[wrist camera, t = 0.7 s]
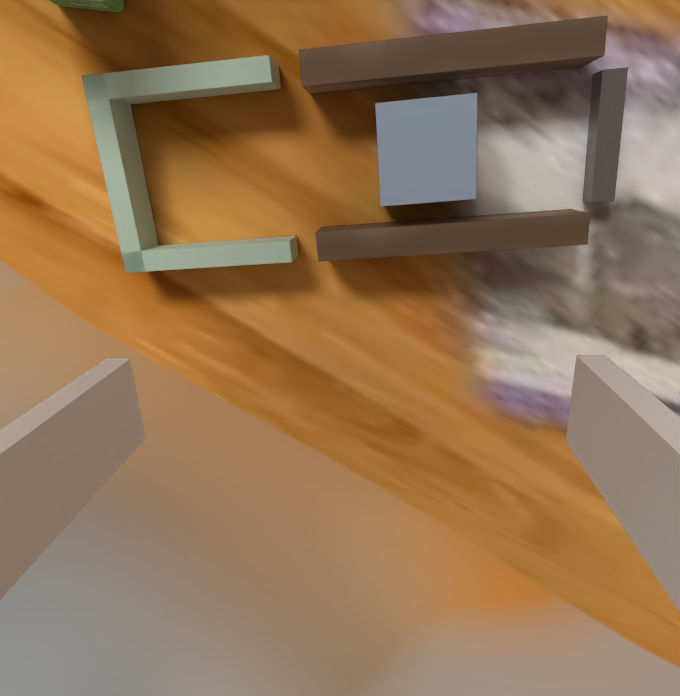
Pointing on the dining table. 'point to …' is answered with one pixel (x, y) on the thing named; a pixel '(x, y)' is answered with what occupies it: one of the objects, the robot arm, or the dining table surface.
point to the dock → (127, 169)
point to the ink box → (93, 4)
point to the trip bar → (604, 134)
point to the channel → (441, 65)
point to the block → (427, 149)
